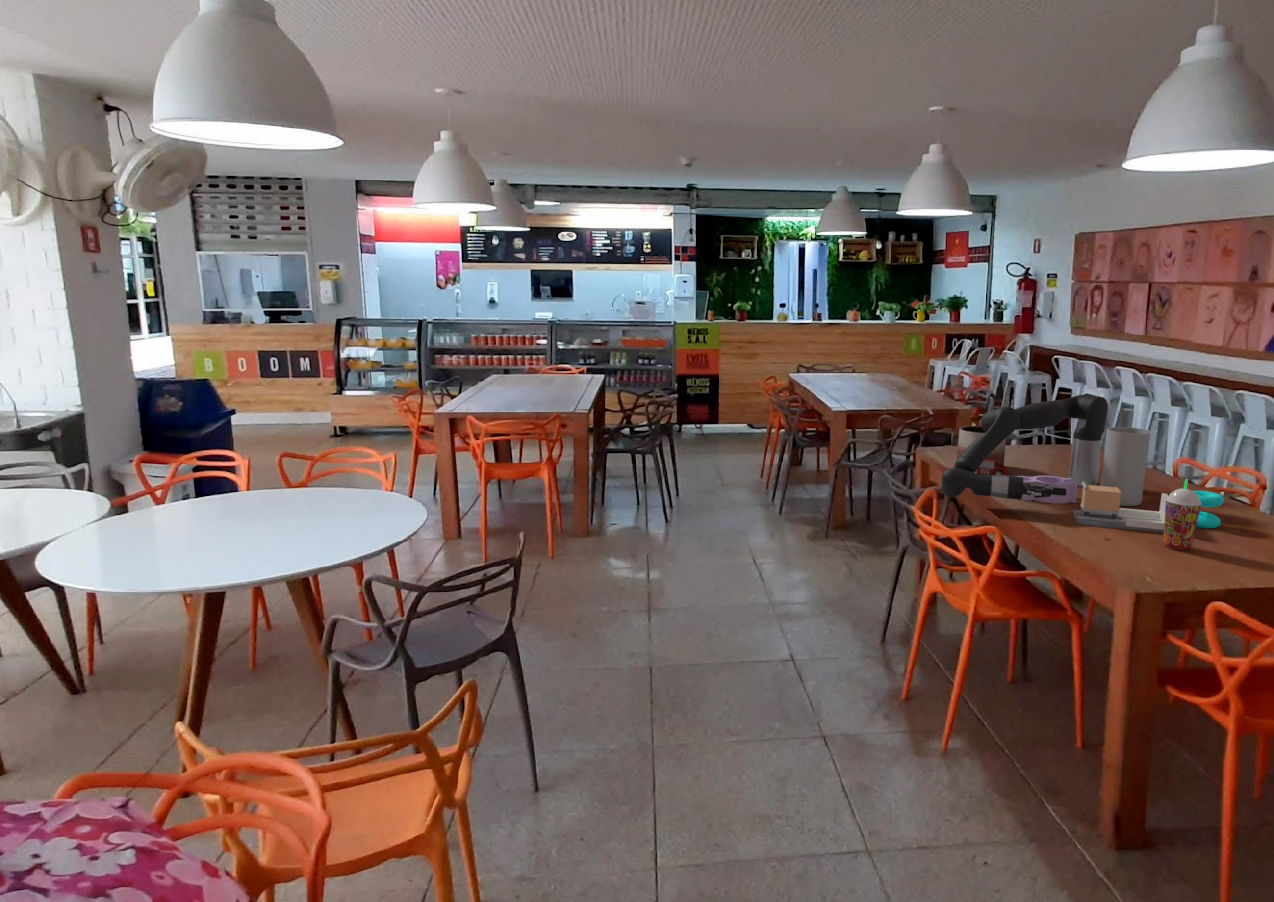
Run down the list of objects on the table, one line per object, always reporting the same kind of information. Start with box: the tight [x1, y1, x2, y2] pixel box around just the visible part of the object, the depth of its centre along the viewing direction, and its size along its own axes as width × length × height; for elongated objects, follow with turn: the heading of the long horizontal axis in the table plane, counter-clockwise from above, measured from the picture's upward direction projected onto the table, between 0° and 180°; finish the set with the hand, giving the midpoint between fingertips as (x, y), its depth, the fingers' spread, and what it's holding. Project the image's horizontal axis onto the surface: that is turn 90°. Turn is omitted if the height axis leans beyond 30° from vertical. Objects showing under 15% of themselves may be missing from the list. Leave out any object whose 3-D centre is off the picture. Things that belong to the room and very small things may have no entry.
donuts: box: [1192, 490, 1225, 529], centre depth 248 cm, size 10×10×10 cm
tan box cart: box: [1079, 481, 1121, 519], centre depth 252 cm, size 8×10×10 cm
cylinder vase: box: [1099, 426, 1151, 507], centre depth 272 cm, size 12×12×25 cm
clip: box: [1017, 475, 1078, 505], centre depth 280 cm, size 20×12×7 cm, turn 78°
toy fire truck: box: [975, 459, 1011, 476], centre depth 294 cm, size 7×12×10 cm, turn 46°
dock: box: [1072, 492, 1169, 534], centre depth 250 cm, size 14×25×9 cm, turn 67°
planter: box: [956, 425, 1007, 472], centre depth 325 cm, size 18×18×16 cm
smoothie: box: [1163, 478, 1202, 551], centre depth 226 cm, size 8×8×20 cm
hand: (1066, 492), depth 256 cm, fingers closed
